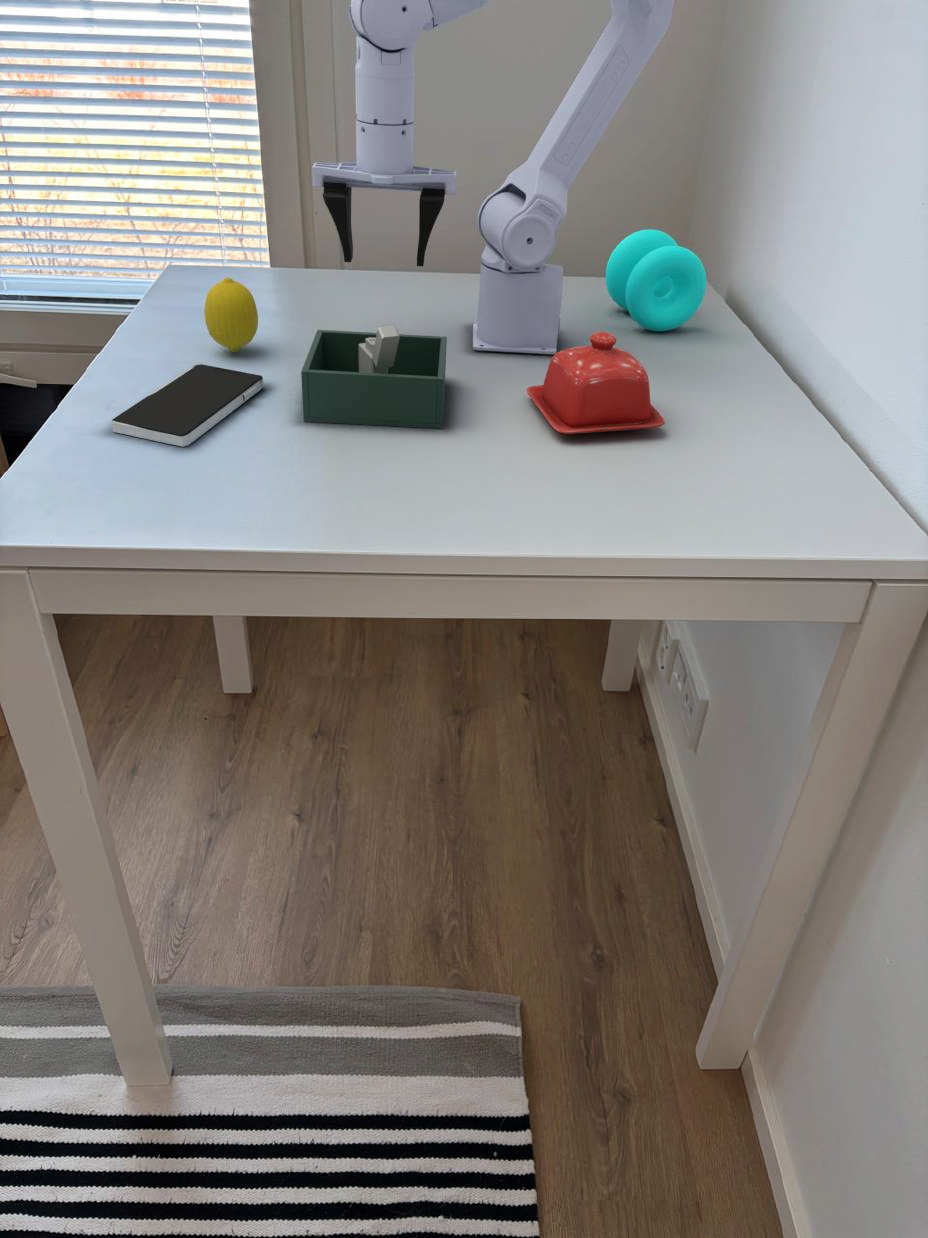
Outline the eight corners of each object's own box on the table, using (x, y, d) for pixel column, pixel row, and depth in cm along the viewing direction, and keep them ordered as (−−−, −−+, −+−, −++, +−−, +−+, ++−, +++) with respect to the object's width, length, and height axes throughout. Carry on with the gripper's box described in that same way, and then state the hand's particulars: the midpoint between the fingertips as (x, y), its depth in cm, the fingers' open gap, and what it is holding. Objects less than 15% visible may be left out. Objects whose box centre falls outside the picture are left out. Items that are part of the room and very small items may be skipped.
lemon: (249, 364, 102) (242, 288, 97) (200, 357, 103) (191, 282, 98) (268, 346, 106) (263, 273, 102) (220, 340, 107) (213, 267, 102)
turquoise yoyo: (624, 335, 115) (638, 250, 109) (597, 308, 123) (608, 226, 117) (701, 333, 117) (718, 249, 111) (669, 306, 125) (683, 226, 119)
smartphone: (107, 420, 87) (196, 362, 98) (109, 432, 88) (197, 373, 99) (185, 437, 85) (266, 376, 96) (187, 449, 86) (267, 387, 97)
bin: (444, 383, 101) (446, 336, 98) (441, 428, 92) (443, 379, 89) (319, 376, 100) (317, 329, 97) (303, 421, 91) (301, 371, 88)
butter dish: (520, 396, 99) (528, 314, 94) (624, 391, 101) (637, 311, 96) (555, 446, 90) (566, 358, 85) (668, 438, 92) (685, 353, 87)
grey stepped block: (358, 384, 98) (357, 306, 93) (374, 382, 98) (374, 304, 94) (382, 412, 93) (382, 331, 88) (399, 410, 93) (400, 329, 89)
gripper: (305, 122, 91) (311, 268, 99) (457, 131, 91) (451, 276, 99) (315, 110, 97) (320, 249, 105) (458, 119, 97) (452, 257, 105)
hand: (384, 261), depth 102 cm, fingers open, 7 cm apart
